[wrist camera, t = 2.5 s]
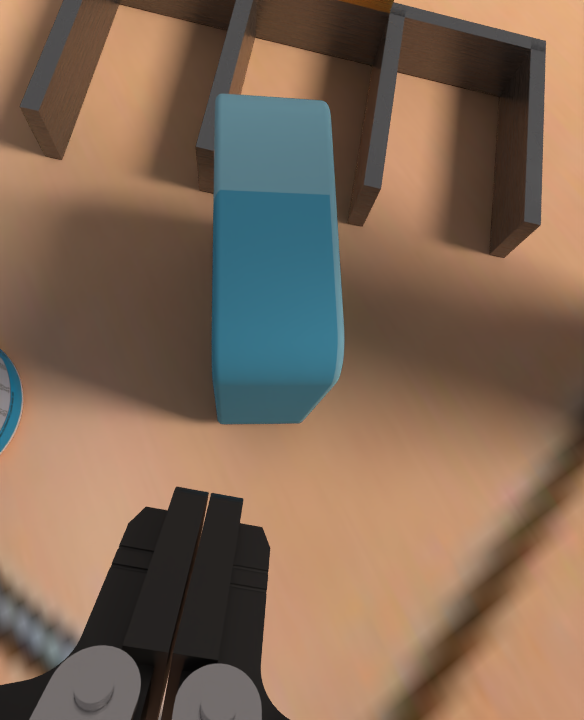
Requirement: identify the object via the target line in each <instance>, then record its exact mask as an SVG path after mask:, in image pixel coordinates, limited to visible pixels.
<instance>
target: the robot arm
mask: <svg viewBox="0 0 584 720" xmlns="http://www.w3.org/2000/svg"><path fill="white" fill-rule="evenodd" d="M208 494H209V492H203V491H198V490H192V489H187V488H182V487H176V488H175V490H174V493H173V496H172V499H171V502H170V505H169V508H168V511H167V510H162V509H156V508H151V507H145V508H144V509H143V510H142V511H141V512H140V513H139V514H138V515H137V516H136V517H135V518H134V519H133V520H131V521H130V522H129V523H128V526H127V528H126V531H125V533H124V535H123V538H122V540H121V543H120V545H119V549H118V550H117V552H116V555H115V557H114V559H113V562H112V566H111V568H110V569H109V571H108V574H107V576H106V579H105V581H104V583H103V586H102V588H101V591H100V593H99V595H98V598H97V600H96V603H95V605H94V607H93V610H92V612H91V615H90V617H89V619H88V622H87V624H86V627H85V629H84V631H83V634H82V636H81V638H80V640H79V642H78V644H77V646H76V647H75V648H74V650H73V651H72V652H71V654H70V655H69V656H68V657H67V658H66V659H65V660H64V661H63V662H61V663H60V664H59V665H58V666H56V667H55V668H53V669H52V670H50V671H48V672H47V673H45V674H43V675H40V676H38V677H35V678H33V679H29V680H25V681H21V682H15V683H10V684H4V685H0V720H158V717H159V713H160V709H161V705H162V700H163V696H164V692H165V688H166V684H167V689H166V695H165V700H164V706H163V712H162V717H161V720H289V719H288V718H286V717H285V716H284V715H283V714H281V713H280V712H279V711H278V710H277V709H276V707H275V706H274V705H273V704H272V702H271V701H270V699H269V698H268V696H267V694H266V691H265V689H264V686H263V683H262V678H261V654H262V642H263V630H264V618H265V606H266V590H267V581H268V569H269V557H270V546H269V544H268V541H267V538H266V536H265V533H264V530H263V528H262V527H258V526H252V525H247V524H241V523H240V518H241V512H242V505H243V498H237V497H232V496H226V495H221V494H215V493H211V497H210V501H209V505H208V509H207V513H206V517H205V521H204V516H205V511H206V506H207V500H208ZM203 522H204V526H203ZM202 527H203V530H202ZM201 532H202V534H201ZM169 671H170V672H169ZM168 675H169V678H168ZM167 679H168V683H167Z"/></svg>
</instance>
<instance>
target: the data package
mask: <svg viewBox="0 0 584 720" xmlns="http://www.w3.org/2000/svg"><path fill="white" fill-rule="evenodd" d="M343 357H344V320H343V304H342V287H341V271H340V255H339V239H338V222H337V206H336V190H335V174H334V158H333V141H332V125H331V114H330V109H329V106H328V104H327V103H326V102H325V101H322V100H308V99H294V98H279V97H265V96H250V95H236V94H219V95H218V96H217V97H216V100H215V136H214V205H213V275H212V379H213V387H214V395H215V403H216V411H217V419H218V422H219V423H220V424H284V423H301V422H302V421H303V420H304V419H305V418H306V417H307V416H308V414H309V413H310V412H311V411H312V410H313V409H314V408H315V407H316V405H317V404H318V403H319V402H320V401H321V400H322V399H323V397H324V396H325V395H326V394H327V393H328V392H329V391H330V390H331V388H332V387H333V386H334V385H335V384H336V383H337V381H338V379H339V377H340V374H341V370H342V364H343Z"/></svg>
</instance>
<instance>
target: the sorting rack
mask: <svg viewBox="0 0 584 720" xmlns="http://www.w3.org/2000/svg"><path fill="white" fill-rule="evenodd" d="M119 4H122V5H126V6H130V7H134V8H138V9H142V10H147V11H151V12H155V13H159V14H163V15H167V16H171V17H175V18H179V19H183V20H187V21H192V22H196V23H200V24H204V25H208V26H212V27H216V28H220V29H224V30H228V31H227V35H226V38H225V42H224V46H223V49H222V53H221V56H220V60H219V64H218V67H217V71H216V75H215V78H214V82H213V86H212V89H211V93H210V96H209V100H208V104H207V107H206V111H205V115H204V118H203V122H202V126H201V129H200V133H199V136H198V140H197V144H196V156H197V167H198V178H199V189H200V190H201V191H205V192H210V193H214V136H215V100H216V97H217V96H218V95H219V94H236V95H241V91H242V87H243V83H244V79H245V75H246V71H247V67H248V63H249V59H250V55H251V51H252V47H253V43H254V39H255V37H257V38H261V39H265V40H269V41H274V42H278V43H282V44H286V45H290V46H294V47H298V48H302V49H306V50H310V51H314V52H319V53H323V54H327V55H331V56H335V57H339V58H343V59H347V60H351V61H355V62H360V63H364V64H368V65H372V72H371V78H370V84H369V91H368V97H367V103H366V110H365V116H364V122H363V129H362V135H361V141H360V147H359V154H358V160H357V166H356V173H355V179H354V185H353V192H352V198H351V204H350V210H349V217H348V223H350V224H354V225H359V226H363V225H364V223H365V221H366V219H367V217H368V214H369V212H370V210H371V208H372V206H373V204H374V202H375V200H376V198H377V196H378V194H379V192H380V190H381V184H382V177H383V170H384V163H385V156H386V149H387V141H388V134H389V127H390V120H391V113H392V106H393V98H394V91H395V84H396V77H397V72H401V73H405V74H409V75H413V76H417V77H421V78H425V79H429V80H433V81H437V82H441V83H446V84H450V85H454V86H458V87H462V88H466V89H470V90H474V91H478V92H482V93H487V94H491V95H495V96H499V110H498V126H497V143H496V159H495V175H494V192H493V208H492V224H491V240H490V255H494V256H499V257H503V258H505V257H506V256H507V255H508V254H509V253H510V252H511V251H512V250H513V249H515V248H516V247H517V246H518V245H519V244H520V243H521V242H522V241H523V240H525V239H526V238H527V237H528V236H529V235H530V234H531V233H532V232H534V231H535V230H536V229H537V228H538V227H539V226H540V225H541V195H542V160H543V125H544V89H545V54H546V41H544V40H540V39H536V38H532V37H528V36H524V35H520V34H516V33H512V32H508V31H505V30H501V29H497V28H493V27H489V26H485V25H481V24H477V23H473V22H469V21H465V20H461V19H457V18H453V17H449V16H445V15H441V14H437V13H434V12H430V11H426V10H422V9H418V8H414V7H410V6H406V5H402V4H398V3H394V0H63V3H62V5H61V8H60V10H59V13H58V15H57V17H56V20H55V22H54V25H53V27H52V29H51V32H50V34H49V37H48V39H47V42H46V44H45V46H44V49H43V51H42V54H41V56H40V59H39V61H38V63H37V66H36V68H35V71H34V73H33V76H32V78H31V80H30V83H29V85H28V88H27V90H26V93H25V95H24V97H23V100H22V102H21V105H20V108H21V110H22V112H23V114H24V116H25V118H26V120H27V122H28V124H29V125H30V127H31V129H32V131H33V133H34V135H35V137H36V139H37V141H38V143H39V145H40V147H41V148H42V150H43V152H44V154H45V156H47V157H52V158H56V159H61V160H62V158H63V156H64V153H65V150H66V147H67V145H68V142H69V139H70V137H71V134H72V131H73V128H74V126H75V123H76V120H77V117H78V115H79V112H80V109H81V107H82V104H83V101H84V98H85V96H86V93H87V90H88V88H89V85H90V82H91V79H92V77H93V74H94V71H95V68H96V66H97V63H98V60H99V58H100V55H101V52H102V49H103V47H104V44H105V41H106V38H107V36H108V33H109V30H110V28H111V25H112V22H113V19H114V17H115V14H116V11H117V9H118V6H119Z"/></svg>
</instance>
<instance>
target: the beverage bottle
mask: <svg viewBox="0 0 584 720" xmlns="http://www.w3.org/2000/svg"><path fill="white" fill-rule="evenodd" d="M22 410H23V388H22V383H21V379H20V376H19V374H18V372H17V369H16V368H15V366H14V364H13V363H12V361H11V360H10V358H9V357H8V356H7V355H6V354H5V353H4V352H3V351H2V350H1V349H0V455H1V453H2V452H3V451H4V450H5V449H6V447H7V446H8V444H9V443H10V441H11V440H12V438H13V436H14V434H15V432H16V430H17V428H18V425H19V422H20V419H21V415H22Z"/></svg>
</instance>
